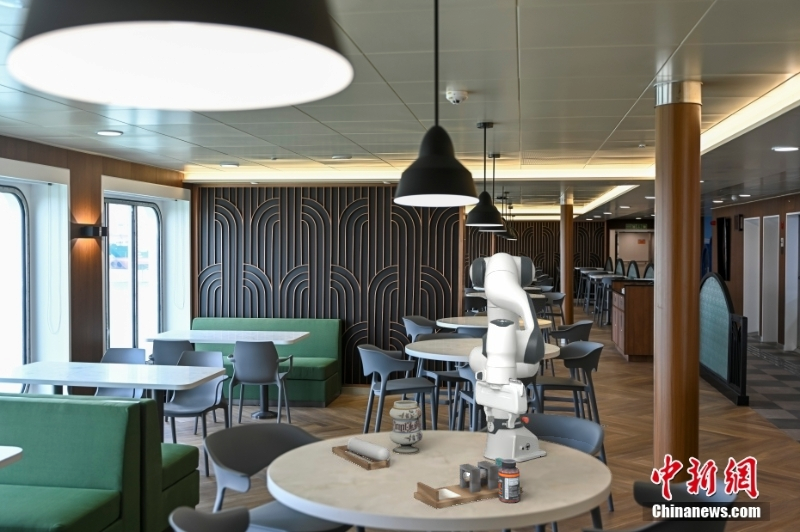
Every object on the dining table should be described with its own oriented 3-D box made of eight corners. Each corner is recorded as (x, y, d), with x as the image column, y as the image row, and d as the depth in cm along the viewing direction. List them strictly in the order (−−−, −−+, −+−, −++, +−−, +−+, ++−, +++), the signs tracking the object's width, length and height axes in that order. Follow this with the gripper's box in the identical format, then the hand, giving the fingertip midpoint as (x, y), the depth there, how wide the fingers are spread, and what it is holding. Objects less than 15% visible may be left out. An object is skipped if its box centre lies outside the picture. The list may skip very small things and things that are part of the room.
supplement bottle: (496, 497, 212) (496, 458, 212) (516, 497, 212) (516, 457, 212) (501, 504, 206) (501, 463, 206) (522, 503, 206) (521, 463, 206)
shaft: (499, 477, 223) (499, 457, 223) (512, 482, 218) (511, 462, 218) (459, 484, 216) (459, 463, 216) (471, 489, 211) (471, 468, 211)
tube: (390, 465, 246) (357, 453, 268) (394, 449, 247) (361, 438, 269) (377, 461, 244) (345, 450, 266) (381, 445, 245) (349, 435, 267)
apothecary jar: (402, 445, 276) (402, 397, 276) (429, 450, 269) (428, 401, 269) (382, 452, 266) (382, 402, 266) (410, 457, 259) (410, 406, 259)
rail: (497, 482, 227) (497, 455, 227) (522, 492, 216) (522, 464, 216) (413, 497, 212) (413, 469, 212) (436, 509, 201) (436, 479, 201)
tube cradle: (352, 449, 270) (352, 444, 270) (388, 467, 245) (388, 461, 245) (332, 452, 266) (332, 447, 266) (367, 470, 241) (367, 464, 241)
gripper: (533, 380, 203) (532, 430, 202) (489, 371, 221) (488, 418, 220) (514, 381, 200) (513, 432, 199) (471, 372, 217) (470, 419, 217)
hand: (500, 424), depth 210 cm, fingers open, 8 cm apart
